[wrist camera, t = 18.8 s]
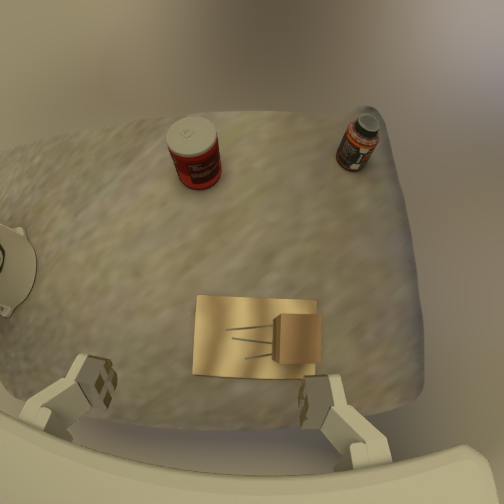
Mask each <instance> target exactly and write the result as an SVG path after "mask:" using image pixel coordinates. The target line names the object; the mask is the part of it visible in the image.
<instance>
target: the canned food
mask: <svg viewBox="0 0 504 504" xmlns="http://www.w3.org/2000/svg"><path fill="white" fill-rule="evenodd" d="M166 143H167V146H168V149H169V152H170V155H171V157H172V160H173V163H174V165H175V168H176V171H177V173H178V176H179V178H180V180H181V181H182V182H183V183H184V184H185V185H186V186H188V187H190V188H192V189H206V188H208V187H210V186H212V185H213V184H215V183H216V181H217V180H218V178H219V176H220V174H221V162H220V154H219V145H218V138H217V132H216V129H215V127H214V125H213V124H212V123H211V122H210V121H209V120H207V119H205V118H202V117H186V118H183V119H180V120H179V121H177V122H175V123H174V124H173V125H172V126H171V127H170V128H169V130H168V131H167V134H166Z"/></svg>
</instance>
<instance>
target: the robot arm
mask: <svg viewBox="0 0 504 504" xmlns="http://www.w3.org/2000/svg"><path fill="white" fill-rule="evenodd" d="M35 274H36V256H35V252H34V249H33V247H32V245H31V244H30V242H29V241H28V239H27V235H26V231H25V229H24V228H23V227H17V228H14V229H10V228H8V227H7V226H5V225H3V224H1V223H0V314H1V315H2V316H4V317H6V318H9V317H10V316H11V314H12V312H13V310H14V309H15V307H16V306H18V305H19V304H20V303H21V302H23V301H24V299H25V298H26V297H27V295H28V294H29V292H30V290H31V288H32V285H33V282H34V279H35ZM112 365H113V364H112V362H111V360H110V359H106V358H101V357H97V356H92V355H88V354H84V353H80V354H78V355H77V357H76V359H75V361H74V363H73V364H72V366H71V368H70V370H69V372H68V374H67V375H66V377H65V378H61V379H60V380H58V381H56V382H55V383H53V384H52V385H50V386H48V387H47V388H45V389H44V390H42V391H40V392H39V393H37V394H36V395H34V396H32V397H31V398H29V399H28V400H27V401H26V404H25V405H24V407H23V409H22V411H21V413H20V415H19V417H18V419H16V418H13V417H11V416H10V415H8V414H5V413H4V412H2V411H0V504H499V499H498V495H497V490H496V486H495V481H494V478H493V474H492V471H491V468H490V465H489V463H488V461H487V459H486V458H485V457H484V456H482V455H481V454H480V453H479V452H477V451H476V450H474V449H473V448H471V447H469V446H467V445H466V444H458V445H454V446H451V447H448V448H445V449H442V450H439V451H436V452H433V453H429V454H426V455H422V456H418V457H415V458H410V459H406V460H402V461H398V462H394V463H393V462H392V458H391V454H390V450H389V447H388V443H387V439H386V437H385V436H384V435H382V433H380V432H379V431H378V430H377V429H376V428H375V427H374V426H373V425H372V424H370V423H369V422H368V421H367V420H366V419H365V418H364V417H363V416H362V415H361V414H360V413H359V412H357V411H356V410H355V409H354V408H353V407H352V406H351V405H347V401H346V397H345V393H344V389H343V384H342V380H341V376H340V375H339V374H334V375H304V376H303V377H302V386H301V387H300V388H299V394H298V406H299V408H300V410H301V413H300V426H301V429H321V431H322V432H323V433H324V435H325V436H326V437H327V438H328V440H329V441H330V442H331V443H332V445H333V446H334V447H335V448H336V449H337V451H338V452H339V453H340V454H341V456H342V458H341V459H340V460H339V462H338V463H337V464H336V465H335V467H334V472H331V473H321V474H309V475H289V476H250V475H249V476H248V475H229V474H216V473H206V472H197V471H189V470H181V469H175V468H169V467H164V466H158V465H153V464H148V463H143V462H139V461H134V460H130V459H126V458H122V457H118V456H114V455H110V454H107V453H104V452H100V451H97V450H94V449H90V448H87V447H84V446H81V445H78V444H75V443H72V440H73V438H72V436H71V434H70V433H69V432H68V431H67V430H66V429H67V428H68V427H69V426H70V425H71V424H73V423H74V422H75V421H76V420H77V419H78V418H79V417H81V416H82V415H83V414H84V413H85V412H86V411H88V410H89V409H90V408H91V406H93V407H98V408H102V409H107V410H108V407H109V405H110V402H111V399H112V397H111V393H112V392H114V391H115V389H116V386H117V374H116V371H115V370H114V369H112V368H111V367H112Z"/></svg>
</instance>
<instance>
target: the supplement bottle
mask: <svg viewBox="0 0 504 504" xmlns="http://www.w3.org/2000/svg"><path fill="white" fill-rule="evenodd" d="M379 128H380V124H379V122H378V121H377V120H376V119H375V118H374V117H372V116H371V115H368V114H362V115H360V116H359V117H358V119H357V120H354V121H352V122H351V123H350V124H349V125H348V127H347V129H346V132H345V134H344V136H343V139H342V141H341V143H340V146H339V148H338V150H337V160H338V162H339V163H340V165H341V166H343V167H344V168H345V169H348V170H351V171H358V170H360V169H362V168H363V167H364V165H365V164H366V162H367V160H368V159H369V157H370V155H371V154H372V152H373V151H374V149H375V147H376V145H377V144H378V142H379V132H378V130H379Z"/></svg>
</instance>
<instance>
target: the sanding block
mask: <svg viewBox="0 0 504 504" xmlns="http://www.w3.org/2000/svg"><path fill="white" fill-rule="evenodd" d="M321 346H322V314H287V313H281V314H280V315H278V316H277V317H276V318H274V319H273V337H272V360H274V361H275V362H277V363H279V364H319V363H321Z"/></svg>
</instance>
